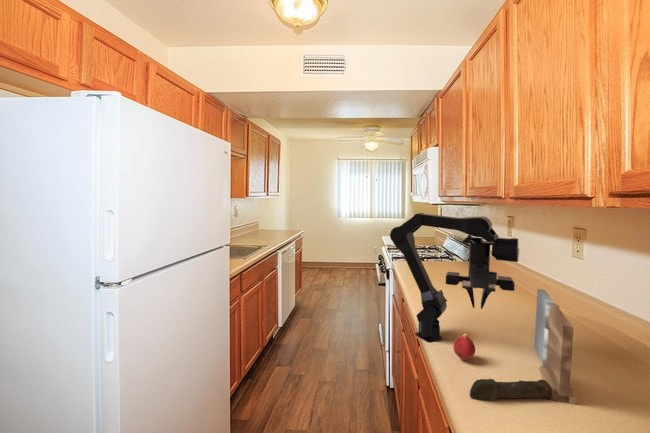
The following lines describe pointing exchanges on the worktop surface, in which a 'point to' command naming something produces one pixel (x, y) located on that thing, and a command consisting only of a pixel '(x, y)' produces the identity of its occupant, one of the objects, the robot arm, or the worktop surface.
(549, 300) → the hinged leaf
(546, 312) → the hinge frame
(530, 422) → the worktop surface
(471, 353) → the onion
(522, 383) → the hand tool
